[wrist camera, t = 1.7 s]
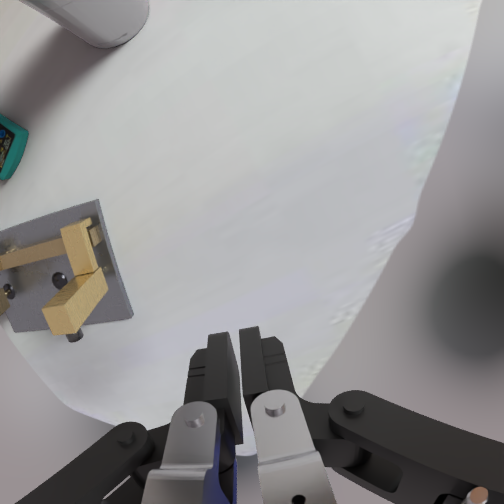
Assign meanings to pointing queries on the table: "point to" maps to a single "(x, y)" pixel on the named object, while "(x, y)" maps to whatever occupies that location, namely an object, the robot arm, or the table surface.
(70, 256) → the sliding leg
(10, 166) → the digital multimeter
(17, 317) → the flange plate
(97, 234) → the tan block assembly
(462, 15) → the table surface
